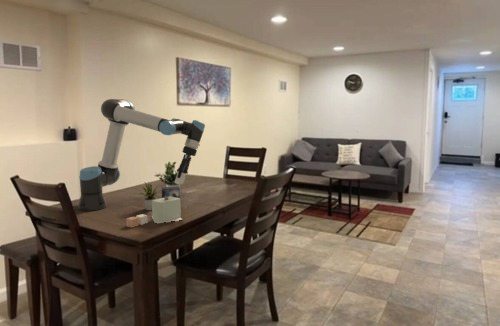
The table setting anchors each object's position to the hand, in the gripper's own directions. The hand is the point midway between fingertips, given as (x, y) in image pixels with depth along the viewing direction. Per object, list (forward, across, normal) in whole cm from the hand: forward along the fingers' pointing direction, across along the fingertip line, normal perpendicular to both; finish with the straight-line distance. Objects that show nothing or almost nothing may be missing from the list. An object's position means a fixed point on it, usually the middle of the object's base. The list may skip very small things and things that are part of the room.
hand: (178, 183), depth 201 cm
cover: (+19, -8, -1) cm, 20 cm away
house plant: (+20, +12, +14) cm, 27 cm away
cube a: (+24, -15, +9) cm, 30 cm away
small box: (+14, +21, +3) cm, 26 cm away
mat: (+19, -8, -1) cm, 21 cm away
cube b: (+26, -19, +12) cm, 35 cm away
